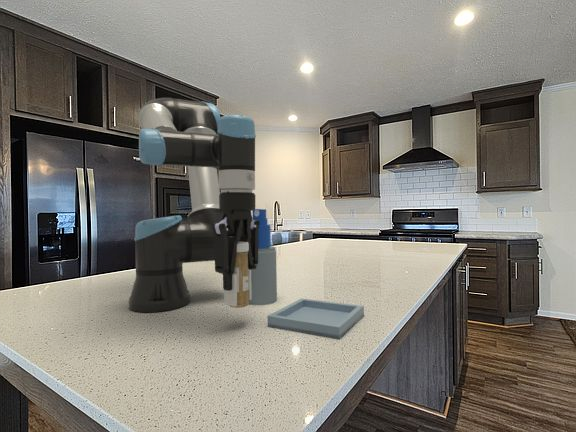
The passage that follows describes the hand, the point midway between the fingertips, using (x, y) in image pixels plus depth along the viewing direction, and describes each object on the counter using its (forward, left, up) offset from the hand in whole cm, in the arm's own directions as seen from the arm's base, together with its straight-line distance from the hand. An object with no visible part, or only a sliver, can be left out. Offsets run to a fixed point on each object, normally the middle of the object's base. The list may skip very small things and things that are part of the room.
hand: (238, 301), depth 72 cm
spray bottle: (-7, +20, -5) cm, 22 cm away
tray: (+14, +11, -5) cm, 18 cm away
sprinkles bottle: (0, 0, -1) cm, 1 cm away
